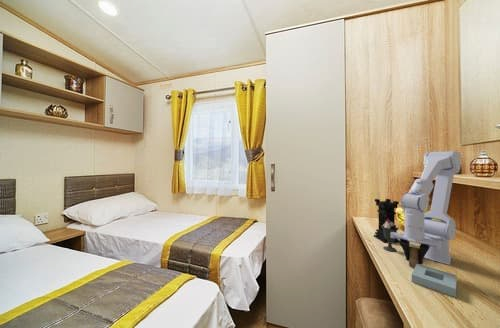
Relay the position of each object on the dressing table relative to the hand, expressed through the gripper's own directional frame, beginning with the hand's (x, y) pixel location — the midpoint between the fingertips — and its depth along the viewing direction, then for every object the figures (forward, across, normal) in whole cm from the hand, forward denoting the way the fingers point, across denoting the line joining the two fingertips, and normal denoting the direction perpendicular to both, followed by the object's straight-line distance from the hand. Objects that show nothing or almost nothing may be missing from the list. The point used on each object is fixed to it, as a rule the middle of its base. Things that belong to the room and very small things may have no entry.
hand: (414, 261), depth 73 cm
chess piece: (+2, -14, +22) cm, 27 cm away
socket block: (+2, +6, -8) cm, 10 cm away
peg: (+2, 0, 0) cm, 2 cm away
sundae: (+2, -10, +10) cm, 15 cm away
